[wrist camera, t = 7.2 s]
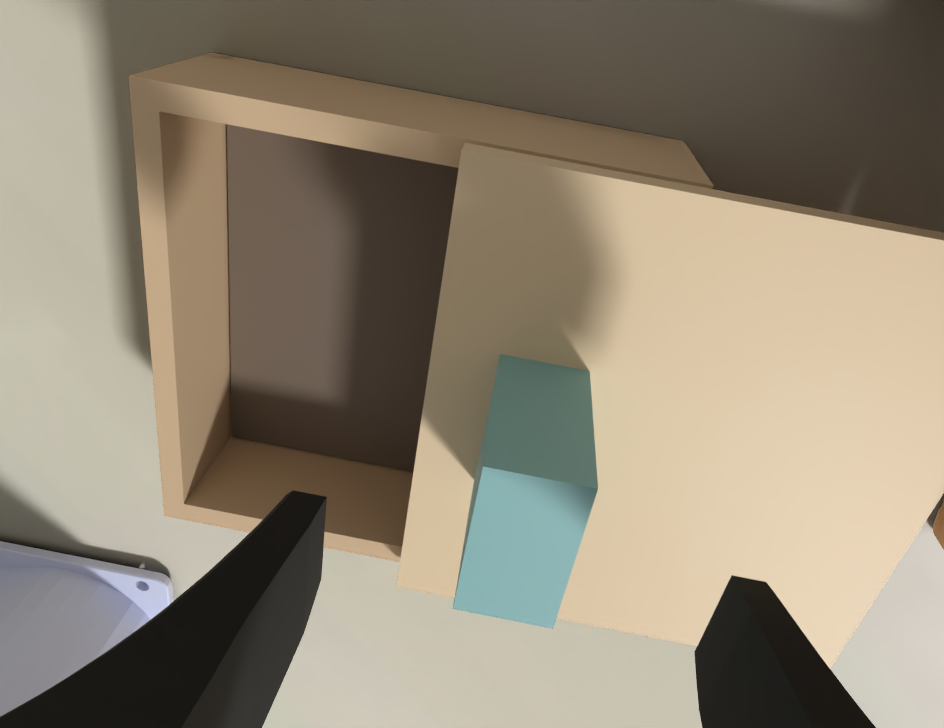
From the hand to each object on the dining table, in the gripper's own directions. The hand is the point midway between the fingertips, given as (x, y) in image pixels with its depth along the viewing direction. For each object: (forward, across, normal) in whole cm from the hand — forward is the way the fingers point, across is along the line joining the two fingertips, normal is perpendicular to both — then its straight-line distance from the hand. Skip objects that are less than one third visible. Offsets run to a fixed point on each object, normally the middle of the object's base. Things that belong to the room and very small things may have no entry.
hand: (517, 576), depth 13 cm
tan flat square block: (+5, -3, 0) cm, 6 cm away
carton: (+9, +3, 0) cm, 10 cm away
